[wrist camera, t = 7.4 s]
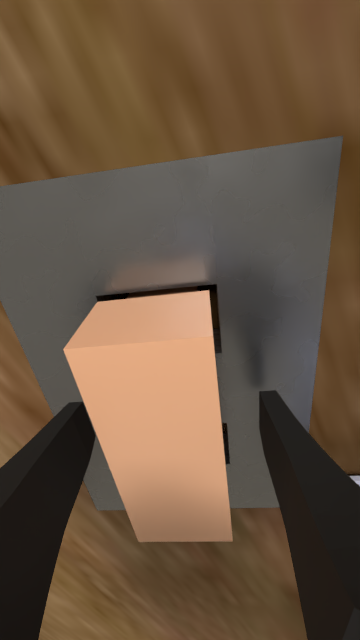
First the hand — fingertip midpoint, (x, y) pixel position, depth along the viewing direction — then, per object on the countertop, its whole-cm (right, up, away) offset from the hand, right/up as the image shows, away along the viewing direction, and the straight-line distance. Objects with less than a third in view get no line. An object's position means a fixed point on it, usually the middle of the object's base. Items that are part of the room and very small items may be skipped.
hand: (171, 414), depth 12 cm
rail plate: (0, +2, +3) cm, 3 cm away
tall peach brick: (0, +2, +3) cm, 3 cm away
